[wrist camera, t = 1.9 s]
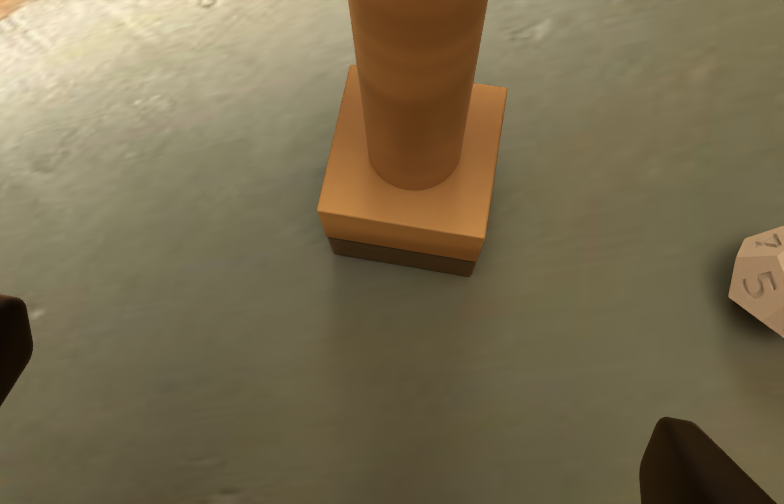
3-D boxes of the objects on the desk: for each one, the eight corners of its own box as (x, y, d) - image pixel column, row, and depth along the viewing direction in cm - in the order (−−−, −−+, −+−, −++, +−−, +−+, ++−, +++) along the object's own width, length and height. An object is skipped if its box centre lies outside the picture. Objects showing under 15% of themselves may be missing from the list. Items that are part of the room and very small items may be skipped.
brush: (470, 277, 23) (570, 5, 9) (332, 254, 24) (219, -44, 9) (490, 150, 25) (603, -260, 11) (359, 129, 25) (296, -294, 11)
